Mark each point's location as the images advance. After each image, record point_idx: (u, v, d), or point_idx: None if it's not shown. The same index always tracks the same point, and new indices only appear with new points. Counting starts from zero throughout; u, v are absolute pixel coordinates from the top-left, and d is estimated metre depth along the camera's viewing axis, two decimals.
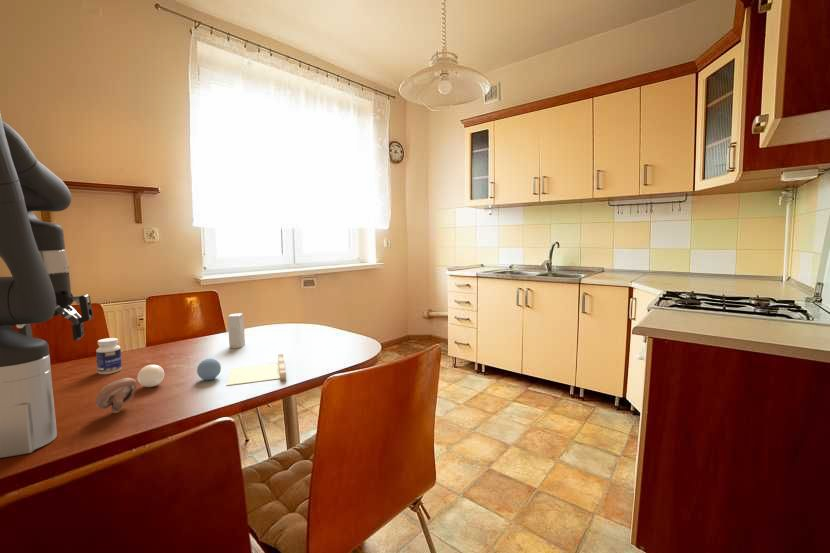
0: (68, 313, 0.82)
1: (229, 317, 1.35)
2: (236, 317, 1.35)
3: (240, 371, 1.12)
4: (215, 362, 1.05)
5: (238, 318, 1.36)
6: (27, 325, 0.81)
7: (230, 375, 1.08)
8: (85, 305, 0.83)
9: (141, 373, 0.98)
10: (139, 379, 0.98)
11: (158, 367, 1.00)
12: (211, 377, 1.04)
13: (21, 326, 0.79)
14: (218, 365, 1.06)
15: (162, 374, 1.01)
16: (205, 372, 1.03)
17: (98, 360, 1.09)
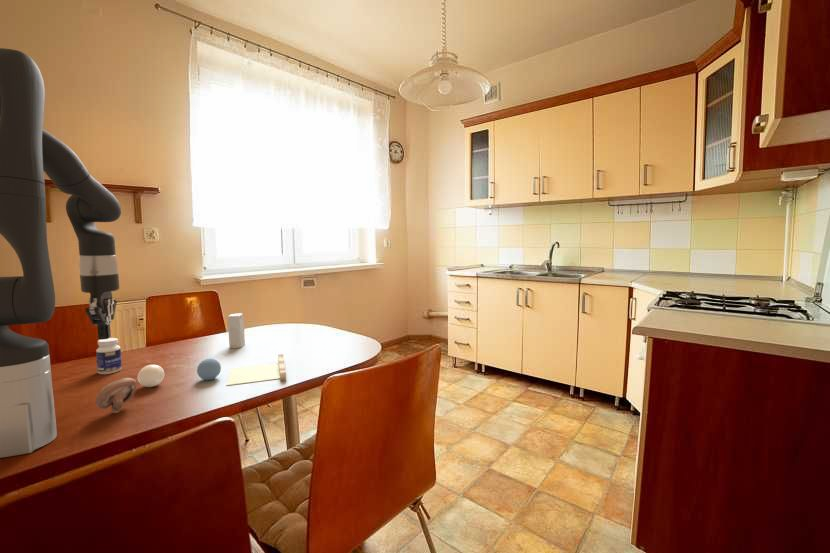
0: None
1: (229, 317, 1.35)
2: (236, 317, 1.35)
3: (240, 371, 1.12)
4: (215, 362, 1.05)
5: (238, 318, 1.36)
6: None
7: (230, 375, 1.08)
8: (115, 307, 1.00)
9: (141, 373, 0.98)
10: (139, 379, 0.98)
11: (158, 367, 1.00)
12: (211, 377, 1.04)
13: (108, 323, 0.95)
14: (218, 365, 1.06)
15: (162, 374, 1.01)
16: (205, 372, 1.03)
17: (98, 360, 1.09)
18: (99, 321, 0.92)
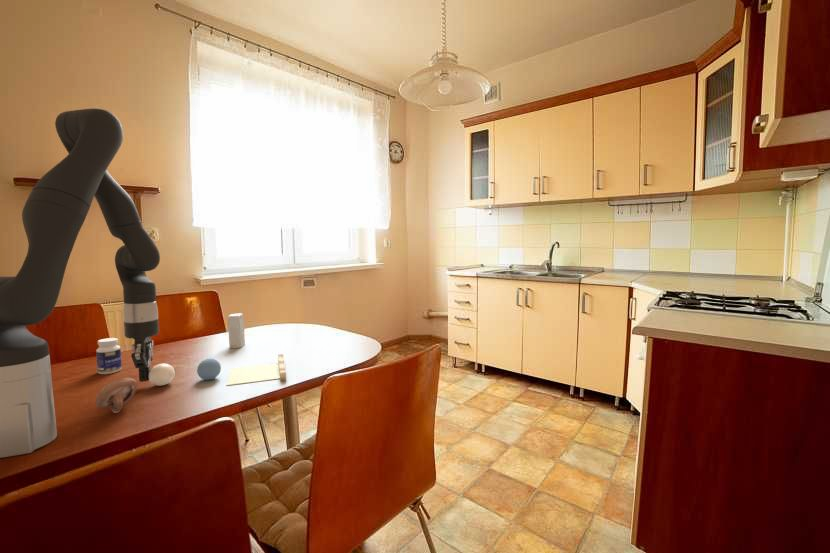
0: None
1: (229, 317, 1.35)
2: (236, 317, 1.35)
3: (240, 371, 1.12)
4: (215, 362, 1.05)
5: (238, 318, 1.36)
6: None
7: (230, 375, 1.08)
8: (152, 349, 1.05)
9: (156, 369, 0.99)
10: (151, 374, 0.99)
11: (172, 369, 1.02)
12: (211, 377, 1.04)
13: (149, 365, 1.00)
14: (218, 365, 1.06)
15: (172, 377, 1.02)
16: (205, 372, 1.03)
17: (98, 360, 1.09)
18: (142, 365, 0.97)
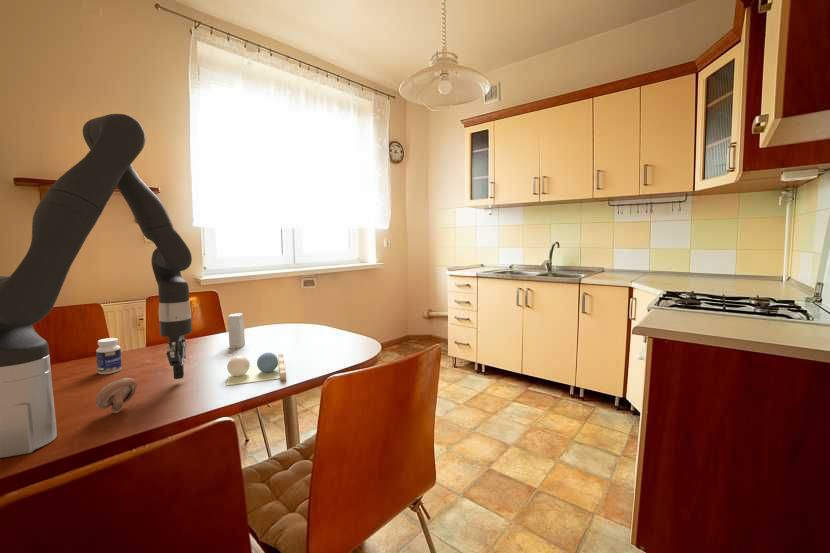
0: None
1: (229, 317, 1.35)
2: (236, 317, 1.35)
3: None
4: (265, 355, 1.10)
5: (238, 318, 1.36)
6: None
7: (230, 375, 1.08)
8: None
9: (229, 370, 1.06)
10: (233, 374, 1.06)
11: (235, 357, 1.08)
12: (274, 365, 1.10)
13: (182, 363, 1.02)
14: (269, 354, 1.11)
15: (243, 358, 1.08)
16: (265, 366, 1.09)
17: (98, 360, 1.09)
18: (176, 363, 1.00)
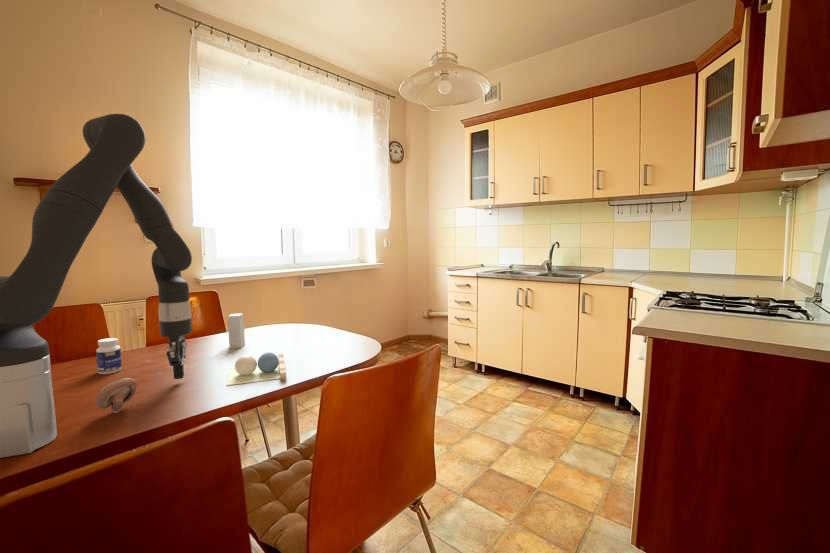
0: None
1: (229, 317, 1.35)
2: (236, 317, 1.35)
3: None
4: (266, 354, 1.10)
5: (238, 318, 1.36)
6: None
7: (230, 375, 1.08)
8: None
9: (238, 364, 1.06)
10: (238, 370, 1.07)
11: (250, 356, 1.09)
12: (275, 365, 1.10)
13: (182, 363, 1.02)
14: (270, 354, 1.11)
15: (255, 361, 1.09)
16: (266, 366, 1.09)
17: (98, 360, 1.09)
18: (176, 363, 1.00)
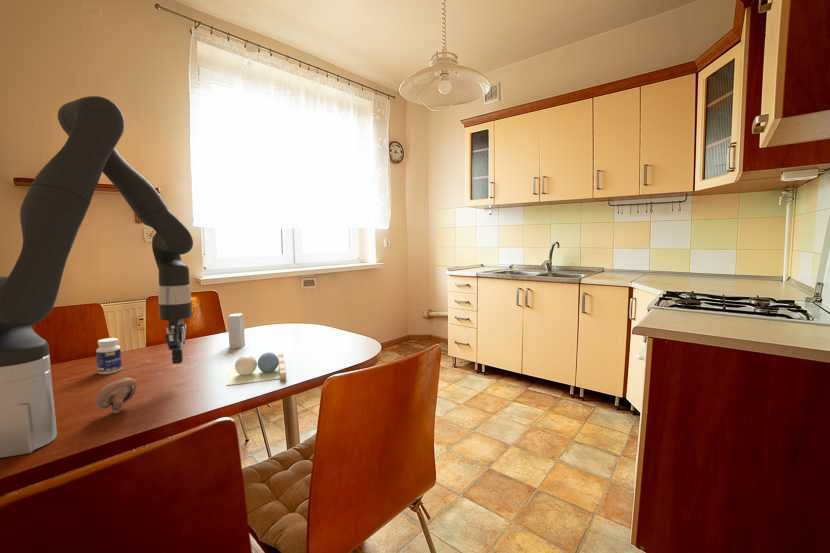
0: None
1: (229, 317, 1.35)
2: (236, 317, 1.35)
3: None
4: (266, 354, 1.10)
5: (238, 318, 1.36)
6: None
7: (230, 375, 1.08)
8: (185, 333, 1.06)
9: (238, 364, 1.06)
10: (238, 370, 1.07)
11: (250, 356, 1.09)
12: (275, 365, 1.10)
13: (181, 348, 1.02)
14: (270, 354, 1.11)
15: (255, 361, 1.09)
16: (266, 366, 1.09)
17: (98, 360, 1.09)
18: (175, 347, 0.99)
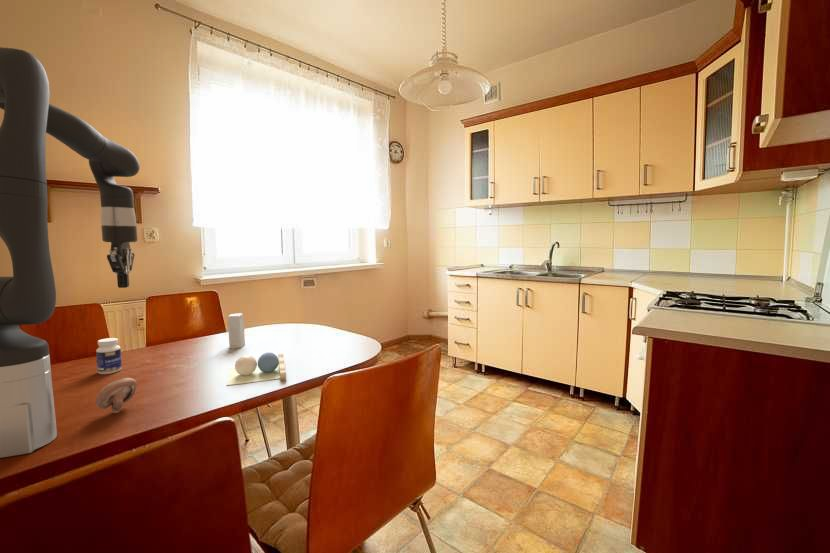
0: None
1: (229, 317, 1.35)
2: (236, 317, 1.35)
3: None
4: (266, 354, 1.10)
5: (238, 318, 1.36)
6: None
7: (230, 375, 1.08)
8: None
9: (238, 364, 1.06)
10: (238, 370, 1.07)
11: (250, 356, 1.09)
12: (275, 365, 1.10)
13: (127, 272, 1.01)
14: (270, 354, 1.11)
15: (255, 361, 1.09)
16: (266, 366, 1.09)
17: (98, 360, 1.09)
18: (119, 269, 0.98)
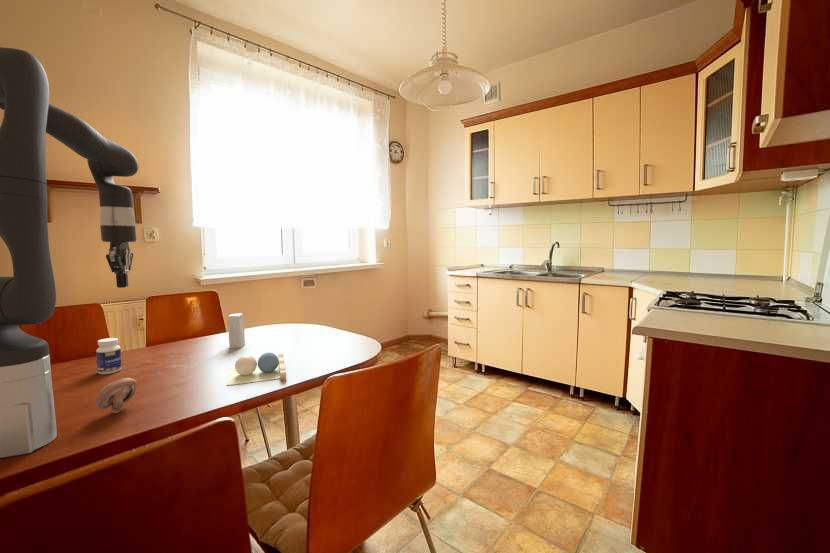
0: None
1: (229, 317, 1.35)
2: (236, 317, 1.35)
3: None
4: (266, 354, 1.10)
5: (238, 318, 1.36)
6: None
7: (230, 375, 1.08)
8: (131, 260, 1.06)
9: (238, 364, 1.06)
10: (238, 370, 1.07)
11: (250, 356, 1.09)
12: (275, 365, 1.10)
13: (126, 272, 1.01)
14: (270, 354, 1.11)
15: (255, 361, 1.09)
16: (266, 366, 1.09)
17: (98, 360, 1.09)
18: (118, 269, 0.98)
